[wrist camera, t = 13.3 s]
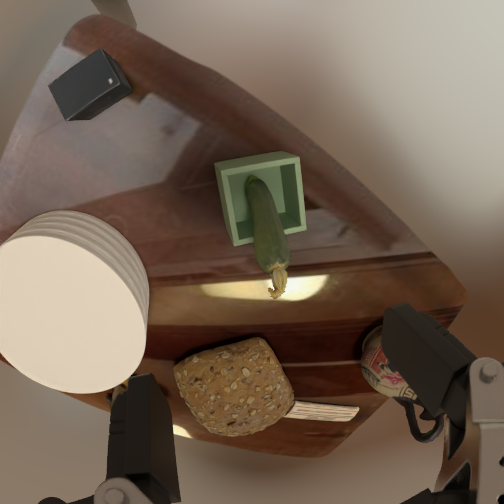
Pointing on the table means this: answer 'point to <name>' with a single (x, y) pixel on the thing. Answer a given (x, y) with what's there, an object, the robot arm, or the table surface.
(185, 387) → the bread
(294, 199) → the bin
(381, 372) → the ceramic jug
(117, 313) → the plate stack
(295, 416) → the newspaper
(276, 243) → the vegetable
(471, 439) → the robot arm
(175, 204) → the table surface
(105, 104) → the box
